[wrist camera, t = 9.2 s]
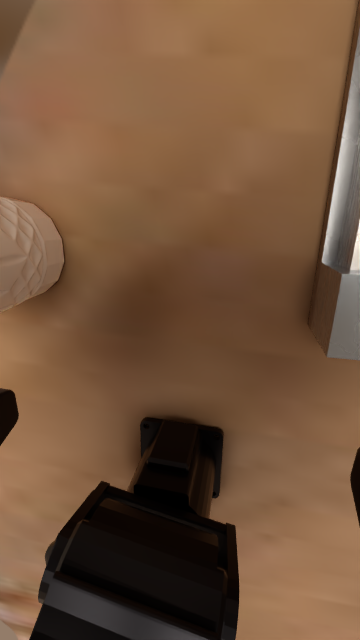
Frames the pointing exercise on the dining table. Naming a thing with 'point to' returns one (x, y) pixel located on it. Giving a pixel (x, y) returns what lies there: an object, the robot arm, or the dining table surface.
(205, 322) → the dining table surface
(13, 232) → the white cup
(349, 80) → the housing
